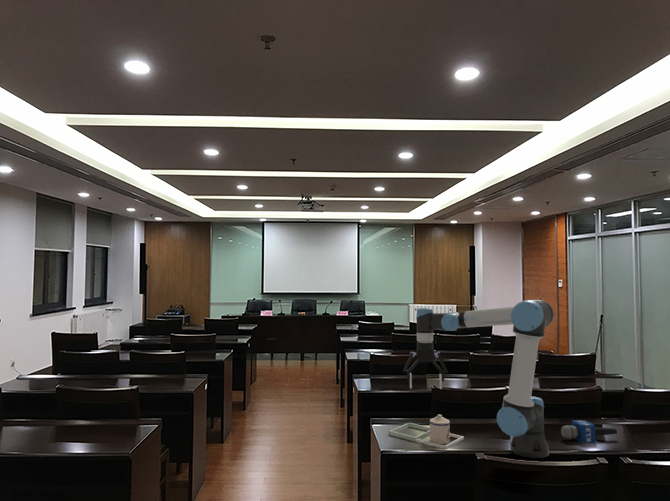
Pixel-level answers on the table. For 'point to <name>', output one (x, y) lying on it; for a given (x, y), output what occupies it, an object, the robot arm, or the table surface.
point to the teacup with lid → (439, 430)
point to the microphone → (584, 431)
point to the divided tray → (422, 435)
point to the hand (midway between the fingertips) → (425, 388)
